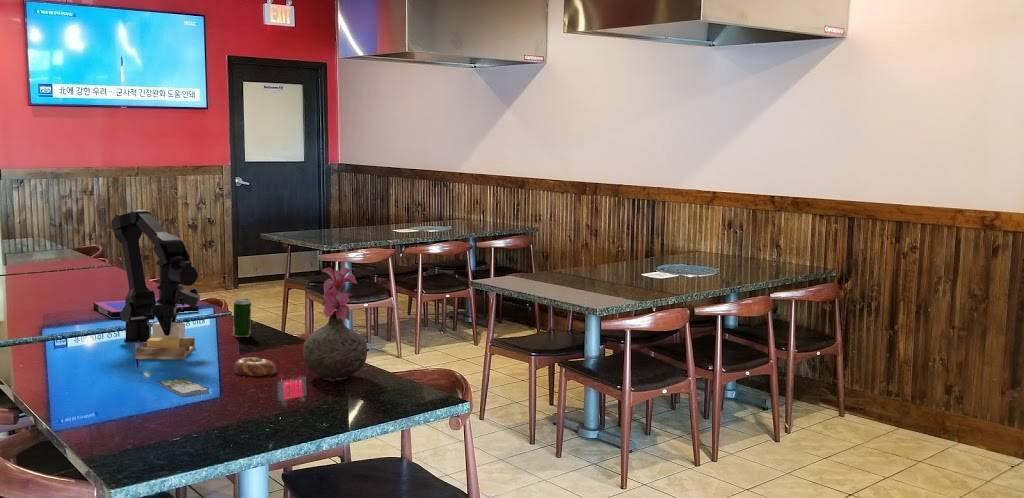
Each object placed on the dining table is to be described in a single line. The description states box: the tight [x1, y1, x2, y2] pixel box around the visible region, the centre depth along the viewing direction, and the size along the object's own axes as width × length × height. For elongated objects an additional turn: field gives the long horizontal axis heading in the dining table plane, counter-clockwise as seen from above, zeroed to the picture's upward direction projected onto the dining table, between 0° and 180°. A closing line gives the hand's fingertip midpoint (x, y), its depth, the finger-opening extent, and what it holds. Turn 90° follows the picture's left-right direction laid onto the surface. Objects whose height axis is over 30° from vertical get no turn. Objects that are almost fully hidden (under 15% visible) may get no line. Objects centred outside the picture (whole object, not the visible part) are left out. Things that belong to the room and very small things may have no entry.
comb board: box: [135, 336, 196, 360], centre depth 257 cm, size 13×16×3 cm
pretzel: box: [233, 356, 277, 377], centre depth 241 cm, size 12×11×4 cm
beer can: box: [232, 298, 252, 338], centre depth 284 cm, size 5×5×12 cm
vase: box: [302, 266, 368, 379], centre depth 237 cm, size 17×17×30 cm
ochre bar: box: [146, 338, 180, 348], centre depth 253 cm, size 8×4×4 cm, turn 99°
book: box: [93, 298, 200, 317], centre depth 319 cm, size 21×3×30 cm
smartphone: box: [157, 377, 210, 397], centre depth 221 cm, size 7×1×15 cm
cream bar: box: [151, 321, 186, 338], centre depth 260 cm, size 8×4×4 cm, turn 83°
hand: (168, 333), depth 260 cm, fingers closed on cream bar, 5 cm apart
